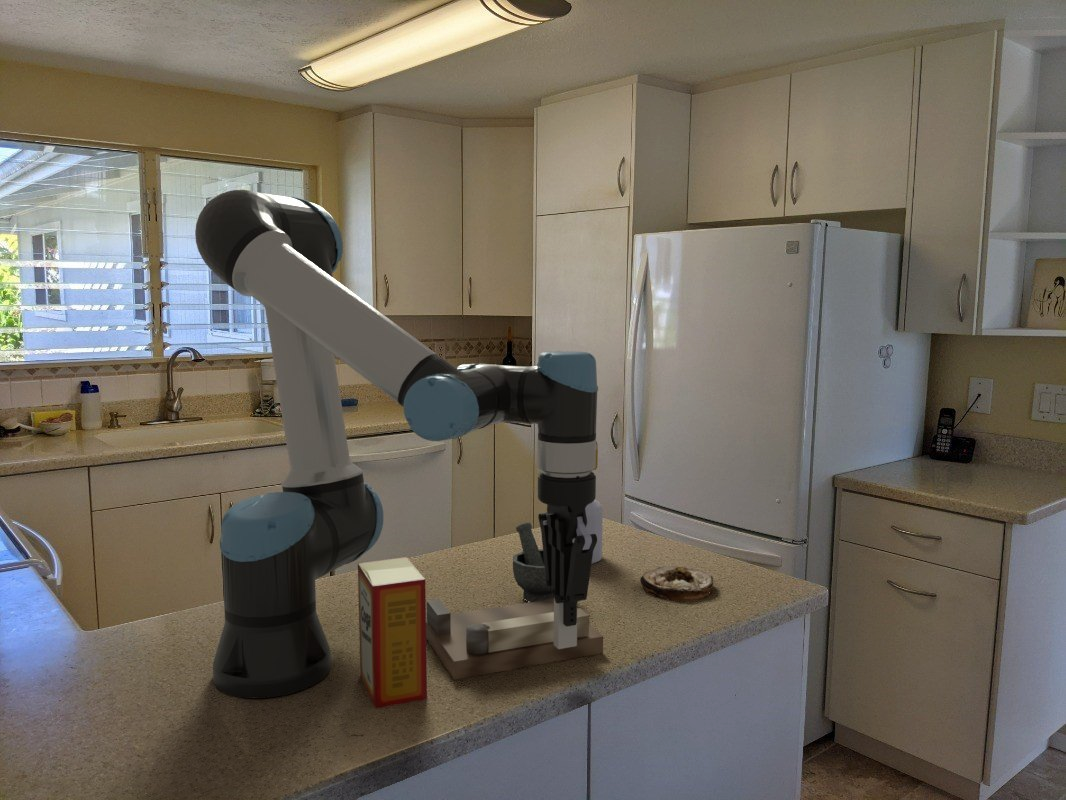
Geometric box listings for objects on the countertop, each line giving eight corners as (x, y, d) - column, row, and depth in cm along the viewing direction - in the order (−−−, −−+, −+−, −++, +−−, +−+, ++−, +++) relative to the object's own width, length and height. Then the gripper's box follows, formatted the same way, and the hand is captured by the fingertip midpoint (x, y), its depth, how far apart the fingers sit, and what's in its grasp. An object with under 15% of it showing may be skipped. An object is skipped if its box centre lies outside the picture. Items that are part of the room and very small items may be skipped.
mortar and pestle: (581, 600, 138) (581, 530, 137) (535, 613, 133) (535, 540, 131) (540, 581, 147) (541, 515, 146) (496, 592, 142) (496, 524, 140)
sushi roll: (616, 586, 146) (616, 563, 146) (677, 570, 155) (677, 548, 154) (675, 612, 134) (676, 588, 134) (738, 594, 143) (739, 570, 142)
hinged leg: (470, 655, 111) (470, 634, 110) (463, 646, 114) (463, 625, 113) (589, 636, 117) (589, 615, 117) (579, 627, 120) (579, 607, 120)
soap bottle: (579, 548, 167) (580, 427, 164) (611, 559, 160) (613, 433, 157) (545, 557, 161) (546, 432, 158) (577, 569, 154) (578, 438, 151)
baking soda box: (360, 675, 111) (357, 560, 109) (408, 667, 113) (406, 554, 111) (375, 708, 102) (372, 583, 100) (427, 698, 105) (425, 576, 103)
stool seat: (454, 679, 110) (453, 639, 109) (423, 633, 125) (422, 598, 124) (603, 653, 118) (603, 616, 117) (557, 613, 133) (557, 580, 132)
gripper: (616, 479, 103) (613, 660, 106) (570, 459, 115) (569, 623, 118) (562, 484, 100) (560, 670, 103) (520, 463, 112) (520, 631, 115)
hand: (565, 645), depth 110 cm, fingers closed
